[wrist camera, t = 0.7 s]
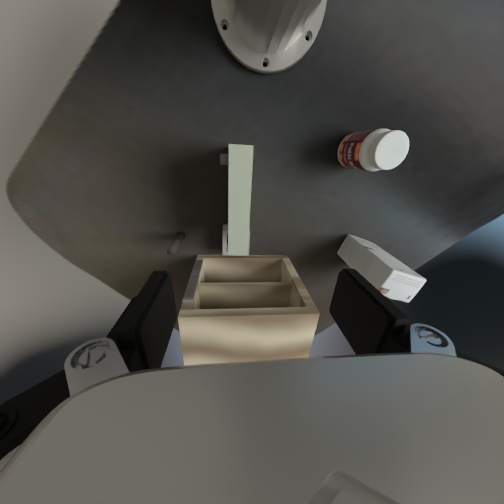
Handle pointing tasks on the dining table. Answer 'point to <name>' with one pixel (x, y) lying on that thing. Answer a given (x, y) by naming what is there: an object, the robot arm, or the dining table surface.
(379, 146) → the pill bottle
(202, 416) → the robot arm
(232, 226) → the door
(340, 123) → the dining table surface
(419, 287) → the skincare box
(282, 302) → the cabinet
